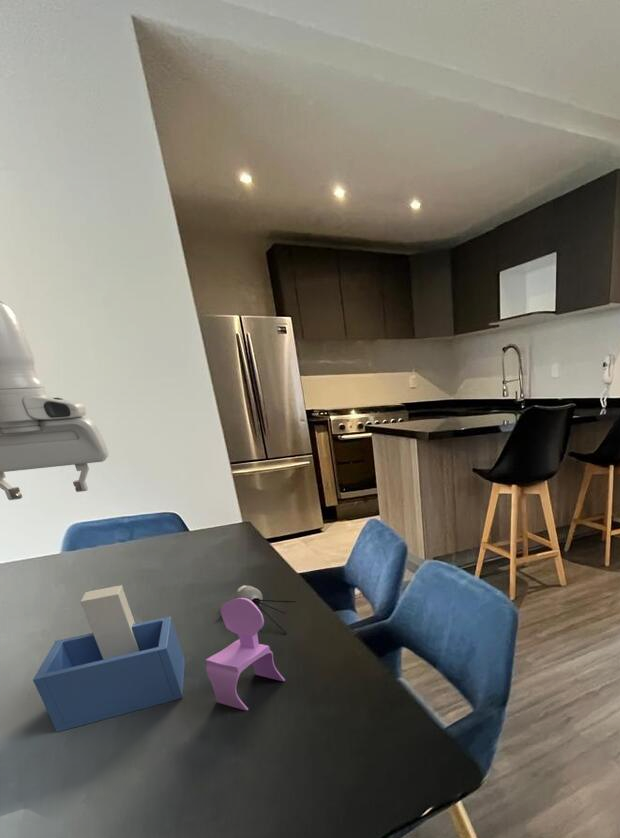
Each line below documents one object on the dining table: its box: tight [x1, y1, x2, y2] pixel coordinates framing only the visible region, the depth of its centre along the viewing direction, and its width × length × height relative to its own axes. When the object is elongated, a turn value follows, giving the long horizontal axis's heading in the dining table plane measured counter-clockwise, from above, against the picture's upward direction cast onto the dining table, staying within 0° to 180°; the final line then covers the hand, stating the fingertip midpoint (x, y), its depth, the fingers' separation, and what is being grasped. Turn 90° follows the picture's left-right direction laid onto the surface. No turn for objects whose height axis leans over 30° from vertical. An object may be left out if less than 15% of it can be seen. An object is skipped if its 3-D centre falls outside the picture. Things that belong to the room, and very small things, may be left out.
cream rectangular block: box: [80, 584, 139, 660], centre depth 80 cm, size 5×4×12 cm
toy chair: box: [205, 598, 286, 712], centre depth 74 cm, size 8×9×15 cm
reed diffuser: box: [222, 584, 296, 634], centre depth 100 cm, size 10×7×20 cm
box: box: [32, 615, 186, 733], centre depth 77 cm, size 16×12×9 cm
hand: (49, 495), depth 84 cm, fingers open, 8 cm apart
